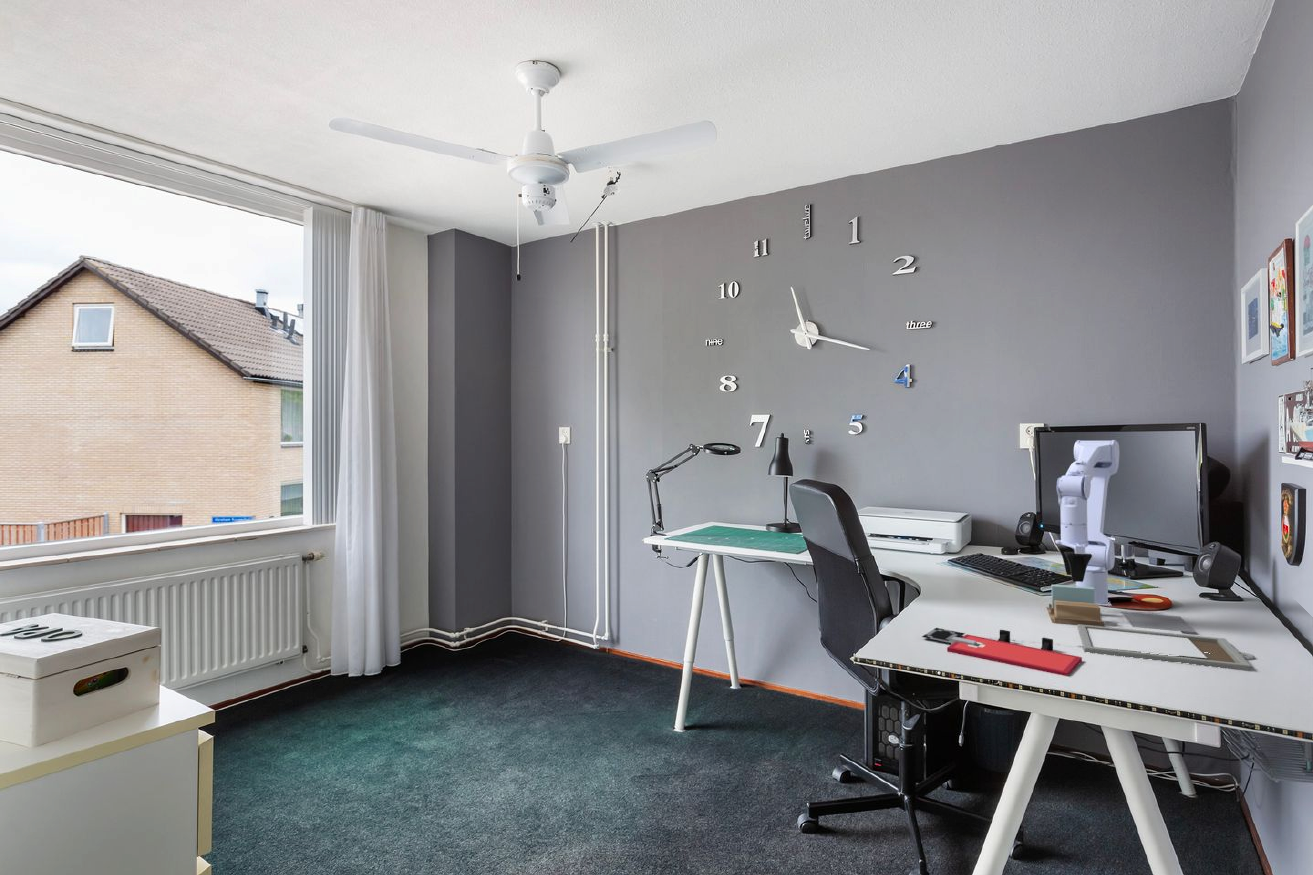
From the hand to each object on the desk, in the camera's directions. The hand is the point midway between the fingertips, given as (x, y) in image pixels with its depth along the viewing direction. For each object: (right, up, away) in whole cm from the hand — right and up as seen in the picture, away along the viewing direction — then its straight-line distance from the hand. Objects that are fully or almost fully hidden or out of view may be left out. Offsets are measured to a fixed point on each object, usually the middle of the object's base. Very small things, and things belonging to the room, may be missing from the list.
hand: (1074, 578), depth 171 cm
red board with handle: (-32, -11, -25) cm, 42 cm away
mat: (+15, -9, -8) cm, 19 cm away
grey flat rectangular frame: (+3, -10, -26) cm, 28 cm away
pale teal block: (0, -9, +1) cm, 9 cm away
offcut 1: (-3, -9, -5) cm, 11 cm away
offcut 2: (-4, -9, -7) cm, 12 cm away
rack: (-2, -9, -3) cm, 10 cm away
